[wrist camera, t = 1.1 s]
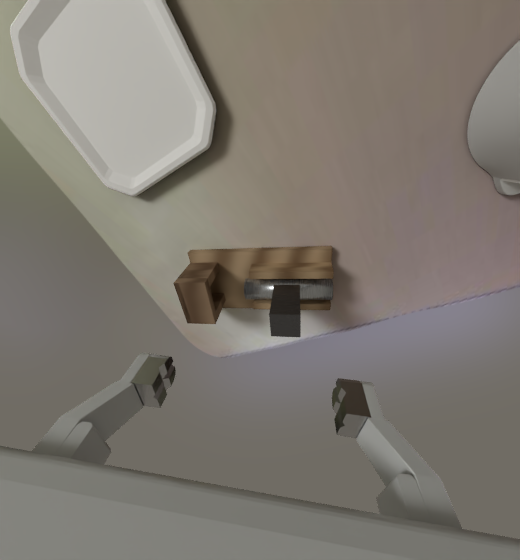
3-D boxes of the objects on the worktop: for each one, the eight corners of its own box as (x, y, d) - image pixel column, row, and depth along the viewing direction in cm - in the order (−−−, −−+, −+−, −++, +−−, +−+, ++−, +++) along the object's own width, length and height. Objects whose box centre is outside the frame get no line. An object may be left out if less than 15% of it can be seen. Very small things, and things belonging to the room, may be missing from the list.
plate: (128, 203, 37) (119, 206, 35) (13, 51, 28) (-7, 45, 27) (233, 134, 30) (229, 134, 28) (122, -98, 21) (105, -121, 19)
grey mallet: (330, 272, 37) (341, 315, 28) (329, 292, 39) (338, 338, 30) (246, 273, 39) (232, 313, 30) (249, 292, 41) (236, 334, 33)
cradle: (331, 246, 36) (338, 270, 30) (326, 305, 42) (331, 336, 36) (190, 250, 40) (169, 272, 34) (205, 303, 46) (190, 331, 40)
